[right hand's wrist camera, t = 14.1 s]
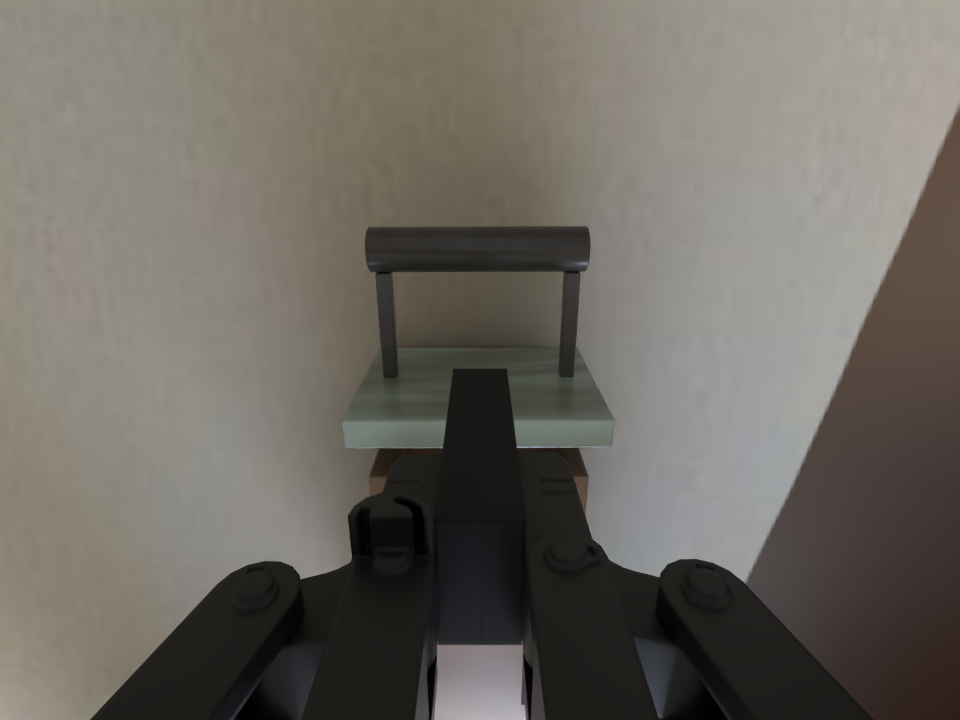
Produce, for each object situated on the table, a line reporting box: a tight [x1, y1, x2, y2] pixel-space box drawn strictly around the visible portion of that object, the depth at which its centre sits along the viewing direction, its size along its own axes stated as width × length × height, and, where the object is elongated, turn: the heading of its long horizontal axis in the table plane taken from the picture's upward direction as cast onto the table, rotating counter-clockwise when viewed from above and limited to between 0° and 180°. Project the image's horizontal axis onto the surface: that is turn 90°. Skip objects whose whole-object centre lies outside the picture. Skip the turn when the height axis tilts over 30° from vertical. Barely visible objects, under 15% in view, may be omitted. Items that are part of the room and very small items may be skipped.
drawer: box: [342, 226, 615, 514], centre depth 24 cm, size 22×10×8 cm, turn 0°
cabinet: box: [434, 642, 526, 720], centre depth 29 cm, size 17×11×10 cm, turn 0°
